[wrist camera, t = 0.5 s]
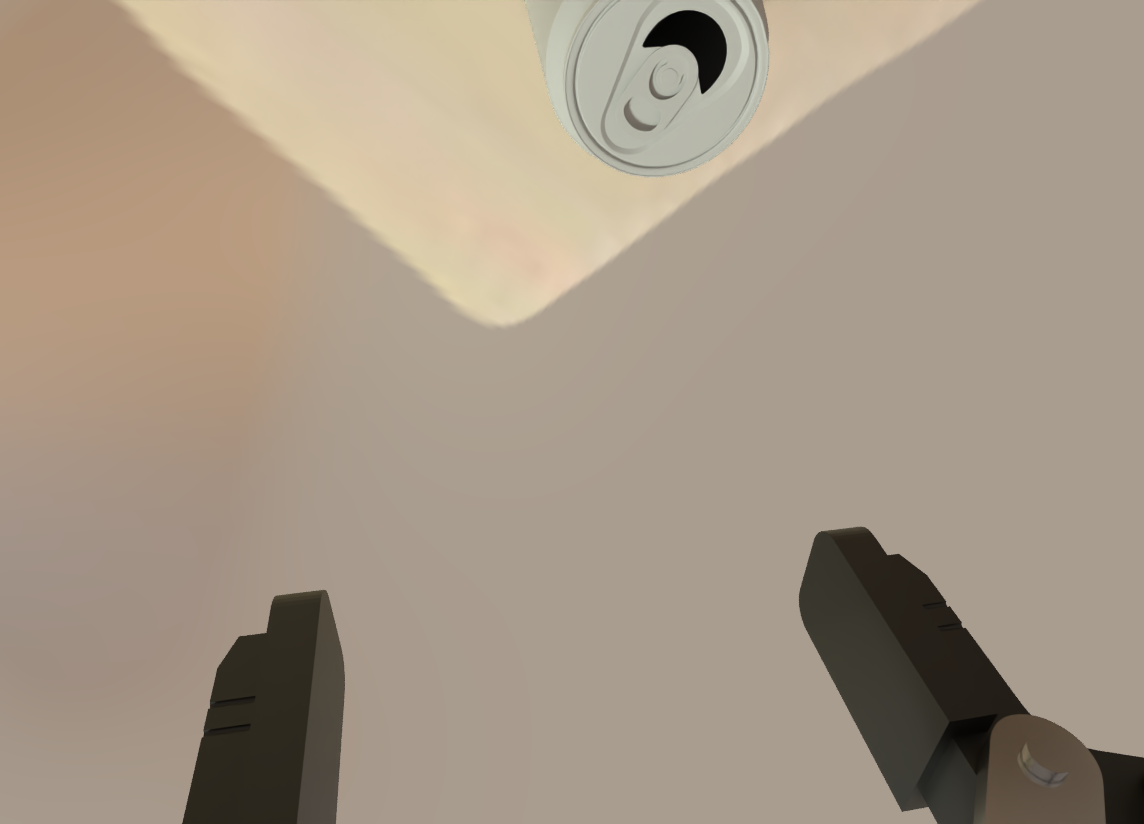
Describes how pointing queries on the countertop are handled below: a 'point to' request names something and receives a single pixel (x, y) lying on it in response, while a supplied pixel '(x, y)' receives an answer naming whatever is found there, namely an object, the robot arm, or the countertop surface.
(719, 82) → the beverage can
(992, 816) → the robot arm
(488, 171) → the countertop surface
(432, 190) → the countertop surface
